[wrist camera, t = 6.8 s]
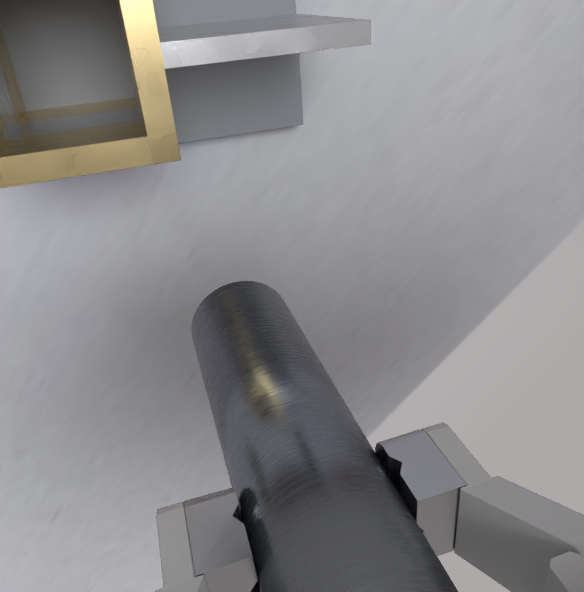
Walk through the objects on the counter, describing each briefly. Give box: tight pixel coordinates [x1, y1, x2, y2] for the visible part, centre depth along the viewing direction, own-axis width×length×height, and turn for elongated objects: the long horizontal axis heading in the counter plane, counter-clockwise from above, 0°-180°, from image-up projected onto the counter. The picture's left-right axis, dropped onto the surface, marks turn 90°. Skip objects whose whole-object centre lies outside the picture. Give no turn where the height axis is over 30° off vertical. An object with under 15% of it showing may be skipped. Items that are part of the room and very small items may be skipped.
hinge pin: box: [191, 281, 458, 592], centre depth 11 cm, size 4×4×13 cm
